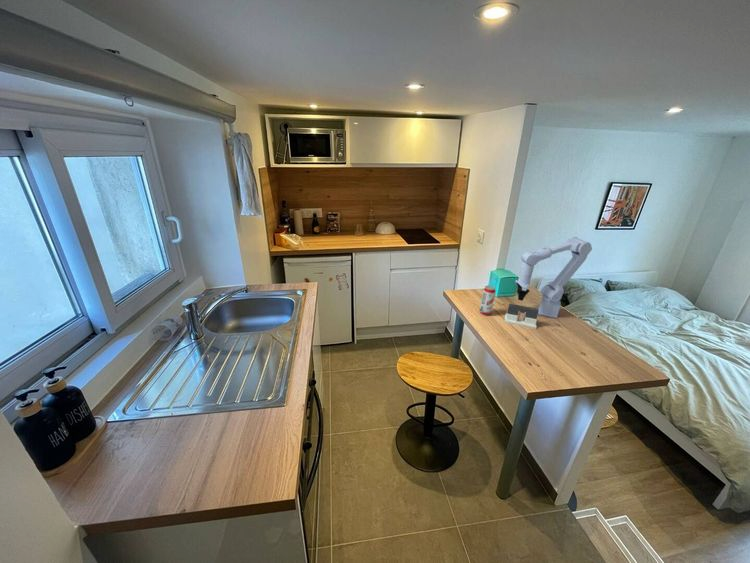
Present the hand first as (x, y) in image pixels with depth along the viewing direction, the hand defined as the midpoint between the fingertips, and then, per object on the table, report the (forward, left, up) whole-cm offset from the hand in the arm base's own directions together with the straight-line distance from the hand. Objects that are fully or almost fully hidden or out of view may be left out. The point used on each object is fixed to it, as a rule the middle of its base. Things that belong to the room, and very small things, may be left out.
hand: (519, 297), depth 158 cm
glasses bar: (-2, +9, -6) cm, 11 cm away
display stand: (-2, +9, -10) cm, 14 cm away
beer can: (+16, +7, -11) cm, 21 cm away
